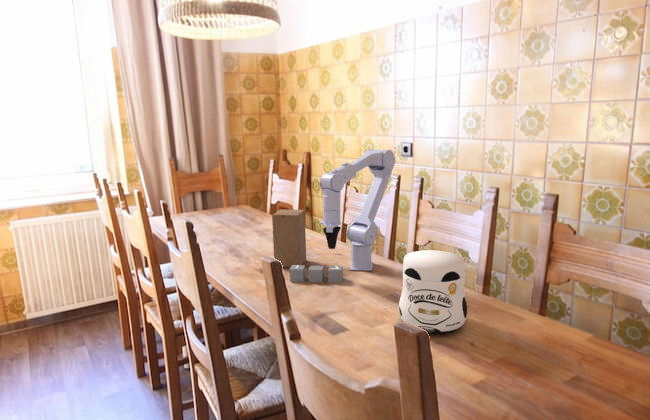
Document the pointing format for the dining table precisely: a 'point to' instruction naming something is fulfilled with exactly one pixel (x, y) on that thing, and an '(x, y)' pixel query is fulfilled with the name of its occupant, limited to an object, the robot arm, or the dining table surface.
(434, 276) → the milk container
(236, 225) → the dining table surface
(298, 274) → the block marked 1
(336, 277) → the block marked 7
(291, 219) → the wooden block
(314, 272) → the plain block
